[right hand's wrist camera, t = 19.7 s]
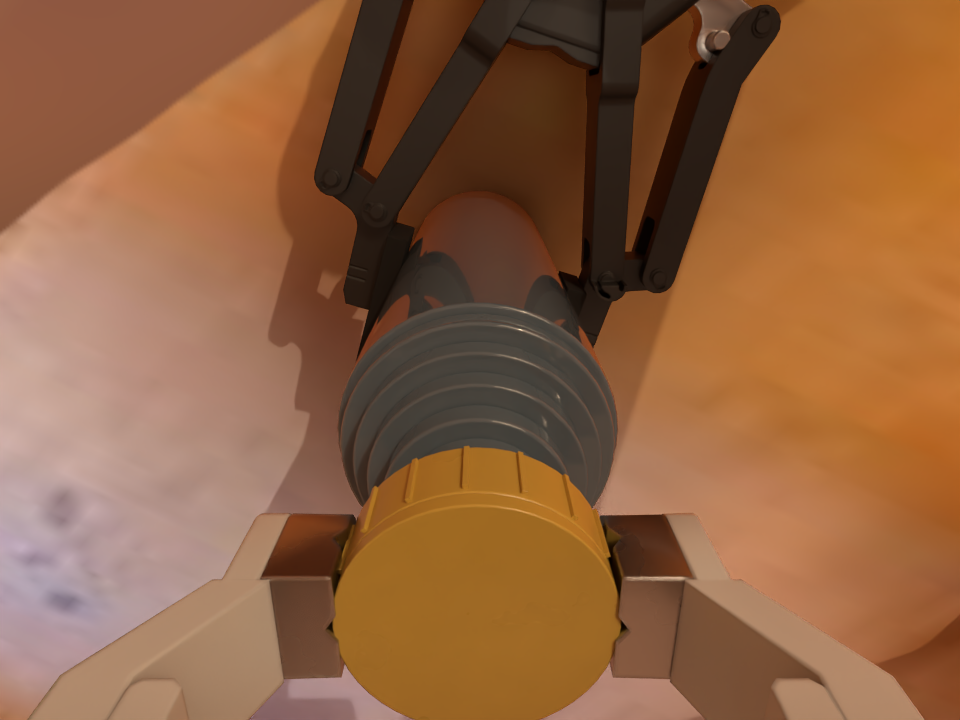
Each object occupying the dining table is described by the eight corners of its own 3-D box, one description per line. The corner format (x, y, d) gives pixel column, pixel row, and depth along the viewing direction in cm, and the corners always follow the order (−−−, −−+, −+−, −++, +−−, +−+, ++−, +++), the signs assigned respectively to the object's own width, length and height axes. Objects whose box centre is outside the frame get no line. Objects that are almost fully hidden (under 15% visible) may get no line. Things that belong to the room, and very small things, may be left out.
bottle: (448, 166, 29) (365, 337, 8) (565, 227, 30) (773, 524, 9) (394, 283, 31) (210, 672, 10) (505, 336, 32) (557, 793, 11)
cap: (344, 641, 11) (323, 720, 10) (356, 430, 10) (334, 488, 8) (579, 662, 11) (594, 743, 10) (628, 459, 10) (653, 520, 8)
